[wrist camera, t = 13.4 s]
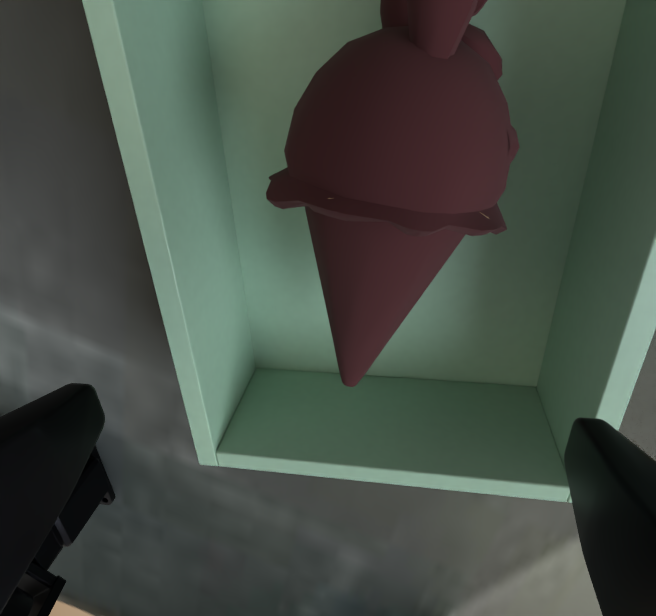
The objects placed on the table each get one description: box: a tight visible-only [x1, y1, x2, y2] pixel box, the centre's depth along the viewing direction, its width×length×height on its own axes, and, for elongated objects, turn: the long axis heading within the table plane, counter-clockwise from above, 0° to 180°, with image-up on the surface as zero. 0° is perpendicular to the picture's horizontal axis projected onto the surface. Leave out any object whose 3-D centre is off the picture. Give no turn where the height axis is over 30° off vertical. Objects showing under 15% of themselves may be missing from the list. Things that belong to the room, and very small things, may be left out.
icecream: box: [266, 0, 519, 387], centre depth 14 cm, size 7×7×15 cm
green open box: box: [82, 0, 656, 503], centre depth 15 cm, size 15×22×6 cm
